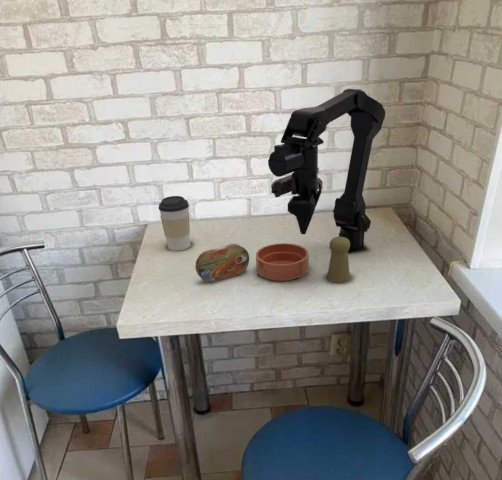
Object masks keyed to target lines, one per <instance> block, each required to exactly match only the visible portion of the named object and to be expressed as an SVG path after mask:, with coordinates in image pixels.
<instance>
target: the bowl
mask: <svg viewBox="0 0 502 480" xmlns="http://www.w3.org/2000/svg"><path fill="white" fill-rule="evenodd" d="M255 266H256V273H257V274H258V275H259V276H260V277H262V278H265V279H268V280H270V281H271V280H272V281H278V282H279V281H280V282H281V281H282V282H283V281H291V280H295V279H296V280H297V279H298V278H301V277H303V276H304V275H306V274H307V273H308V271H309V269H310V253H309V250H308V249H307V248H306V247H304V246H302V245H299V244H296V243H289V242H288V243H287V242H280V243H279V242H278V243H273V244H268V245H265V246H262V247H261V248H259V249H258V250H257V252H255Z"/></svg>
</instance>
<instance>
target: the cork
mask: <svg viewBox="0 0 502 480" xmlns="http://www.w3.org/2000/svg"><path fill="white" fill-rule="evenodd" d="M349 248H350V241H349V240H348V239H347V238H345V237H339V236H335V237H333V238H332V239H330V241H329V250H330V251H331V252H330V258H329V263H328V269H327V275H326V279H327V280H328V281H329V282H331V283H336V284H341V283H346V282H348V281H350V279H351V274H350V262H349V261H350V260H349V253H348V250H349Z"/></svg>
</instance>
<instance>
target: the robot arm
mask: <svg viewBox="0 0 502 480" xmlns="http://www.w3.org/2000/svg"><path fill="white" fill-rule="evenodd" d="M345 114H347V115H348V116H349V117H350V124H349V125H350V126H349V127H350V129H351V132H352V135H353V142H352V147H351V153H350V158H349V162H348V163H349V164H348V169H347V174H346V175H347V176H346V180H345V187H344V191H343V193H342V194H341V196H339V197H336V199H335V200H334V207H333V210H332V213H333V219H334V223H335V227H337V228H340V229H339V230H340V231H339V232H338V237H345V238H347V239H348V240H349V241H350V248H349V250H348V254H349V253H354V252H358V251H359V252H360V251H364V250H367V246H365V233H367V232H368V230H370V227H371V223H372V220H371V219H370V218H369V217H368V216H367V214H366V208H367V205H366V204H367V203H366V201H365V199H364V196H363V192H364V187H365V183H366V177H367V172H368V167H369V161H370V155H371V151H372V146H373V142H374V139H375V138H376V137H377V135H378V134H379V133H380V132H381V131H382V127H383V123H384V120H385V118H386V109H385V108H384V105H383V103H380V102H379V101H378V100H376V99H375V98H373V97H372V96H369V95H367V93H366V91H364V90H363V89H359V88H346V89H344V90H343V91H342V92H341V93H339V94H337V95H335V96H333V97H332V98H330V99H328V100H325V101H324V102H322V103H320V104H319V105H316V106H311V107H302V108H299V109H295V110H293V111H292V112H291V114H290V117H289V119H288V122H287V124H286V126H285V129H284V132H283V134H282V137H281V139H280V143H281V144H275V145H274V147H273V149H274V151H272V152H271V153H270V155H269V157H268V159H267V165H268V168H269V170H270V172H271V174H272V175H273V176H275V177H278V178H277V179H275V180H274V181H273V182H272V183H271V185H270V188H271V194H273V195H274V198H280V197H281V196H283V195H287V194H289V193H291V195H292V197H291V198H289V200H288V202H287V212H288V213H289V214H291V215H293V216H294V217H295V218H296V222H297V224H298V228H299V231H300V234H301V235H306V233H307V231H308V229H309V226H310V223H311V222H312V219H313V215H314V214H315V210H316V208H317V206H318V203H319V200H320V197H321V194H322V191H323V186H324V185H323V180H322V179H321V178H320V177H318V176H319V175H318V174H319V173H320V167H319V146H320V145H322V144H324V142H325V141H324V139H322V138H321V137H320V136H321V135H322V134H323V133H324V132H325V131H326V130H327V128H328V127H327V126H328V125H329V124H330V123H332V122H333V121H335V120H337V119H339V118H341V117H343V116H344V115H345ZM283 176H284V177H283ZM280 177H281V178H280Z"/></svg>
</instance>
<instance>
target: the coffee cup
mask: <svg viewBox="0 0 502 480" xmlns="http://www.w3.org/2000/svg"><path fill="white" fill-rule="evenodd" d="M189 207H190V204H189V201H188V200H187V199H185V198H184V197H183V196H182V195H171V196H167V197H164V198H162V199H161V201H160V203H159V204H158V210H159V213H160V214H159V215H160V221H161V226H162V230H163V233H164V236H165V240H166V244H167V249H168V250H170V251H182V250H186V249H188V248H189V247H190V246H191V236H190V235H191V228H190V227H191V224H190V223H191V221H190V211H189V209H190V208H189Z"/></svg>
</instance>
